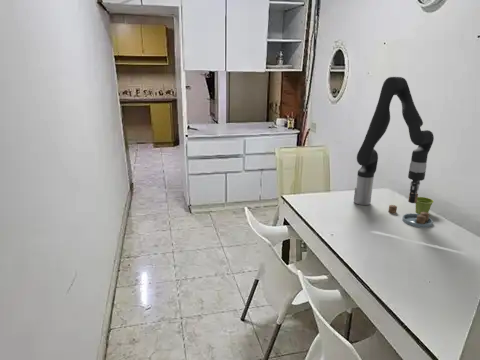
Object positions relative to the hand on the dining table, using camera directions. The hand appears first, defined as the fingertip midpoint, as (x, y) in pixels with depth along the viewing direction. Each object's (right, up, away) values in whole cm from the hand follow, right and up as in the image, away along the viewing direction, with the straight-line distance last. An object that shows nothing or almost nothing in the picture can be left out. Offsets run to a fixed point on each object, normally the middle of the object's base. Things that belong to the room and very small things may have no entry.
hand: (412, 201), depth 180 cm
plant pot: (+12, -8, +13) cm, 19 cm away
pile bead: (-5, -8, +14) cm, 17 cm away
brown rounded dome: (0, 0, 0) cm, 0 cm away
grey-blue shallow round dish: (+3, -12, +2) cm, 12 cm away
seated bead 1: (+3, -12, -2) cm, 12 cm away
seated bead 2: (+7, -11, +2) cm, 13 cm away
